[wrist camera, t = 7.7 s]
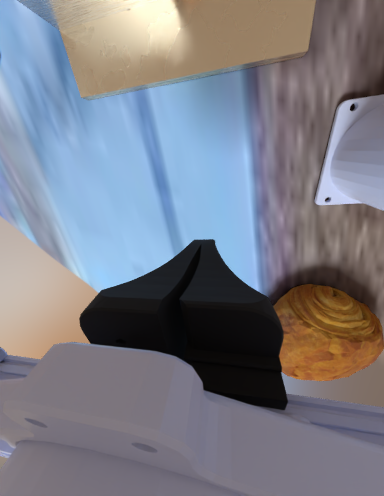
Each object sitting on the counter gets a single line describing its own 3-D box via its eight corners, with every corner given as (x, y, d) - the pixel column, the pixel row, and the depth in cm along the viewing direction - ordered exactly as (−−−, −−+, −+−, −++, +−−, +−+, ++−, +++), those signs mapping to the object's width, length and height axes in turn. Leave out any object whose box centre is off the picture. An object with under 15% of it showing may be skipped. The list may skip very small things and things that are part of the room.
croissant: (240, 323, 31) (240, 374, 25) (289, 265, 21) (309, 326, 15) (318, 348, 31) (337, 406, 25) (405, 301, 21) (474, 379, 15)
